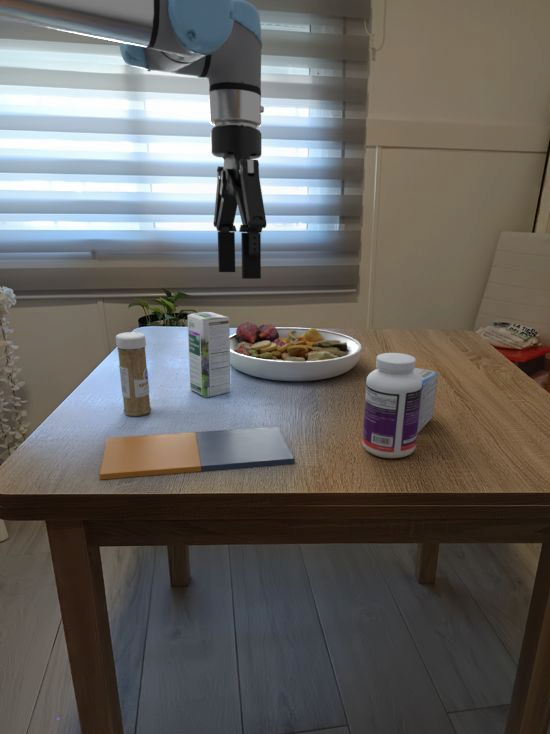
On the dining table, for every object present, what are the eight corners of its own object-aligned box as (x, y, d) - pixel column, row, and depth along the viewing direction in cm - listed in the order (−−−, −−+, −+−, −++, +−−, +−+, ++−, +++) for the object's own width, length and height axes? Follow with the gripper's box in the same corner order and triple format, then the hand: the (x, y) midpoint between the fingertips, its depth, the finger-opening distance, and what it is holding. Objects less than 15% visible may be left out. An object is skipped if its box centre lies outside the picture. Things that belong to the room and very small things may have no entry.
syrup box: (189, 390, 109) (185, 313, 103) (215, 384, 112) (213, 310, 107) (205, 398, 105) (202, 319, 99) (232, 392, 108) (230, 315, 103)
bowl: (380, 359, 133) (383, 326, 130) (321, 396, 108) (322, 355, 105) (270, 341, 145) (270, 310, 142) (194, 370, 120) (192, 333, 117)
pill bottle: (404, 437, 91) (413, 349, 86) (423, 459, 84) (434, 364, 79) (355, 440, 90) (361, 350, 84) (370, 462, 82) (377, 366, 77)
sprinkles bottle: (151, 416, 96) (144, 337, 91) (122, 418, 95) (114, 338, 90) (151, 406, 100) (145, 330, 95) (123, 408, 99) (116, 331, 94)
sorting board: (100, 479, 75) (99, 474, 75) (107, 442, 86) (106, 437, 85) (294, 463, 81) (294, 458, 81) (278, 430, 92) (278, 426, 92)
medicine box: (408, 414, 101) (413, 366, 98) (433, 419, 99) (439, 371, 96) (392, 428, 95) (397, 378, 91) (418, 434, 93) (424, 383, 89)
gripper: (290, 117, 76) (288, 281, 83) (236, 140, 97) (238, 269, 104) (235, 110, 73) (238, 281, 80) (192, 136, 94) (197, 269, 101)
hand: (238, 275), depth 92 cm, fingers open, 13 cm apart
